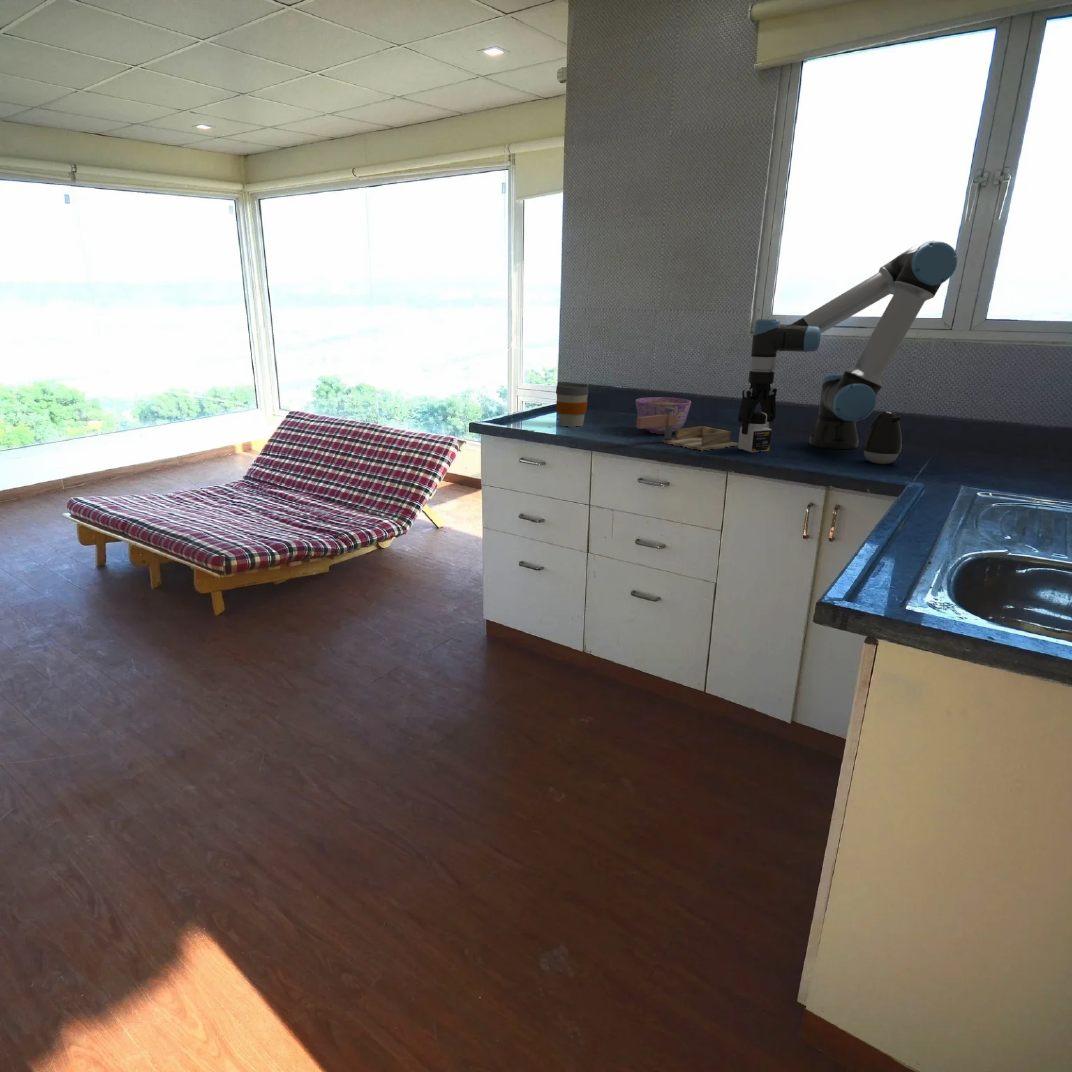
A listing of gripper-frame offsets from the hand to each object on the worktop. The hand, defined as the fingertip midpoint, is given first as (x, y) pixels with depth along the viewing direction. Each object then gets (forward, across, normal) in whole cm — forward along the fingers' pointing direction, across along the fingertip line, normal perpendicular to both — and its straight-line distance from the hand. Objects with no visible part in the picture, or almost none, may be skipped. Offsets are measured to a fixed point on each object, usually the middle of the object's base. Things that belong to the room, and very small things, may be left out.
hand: (754, 442), depth 223 cm
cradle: (+2, +7, -16) cm, 18 cm away
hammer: (+1, +21, -24) cm, 32 cm away
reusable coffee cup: (+3, +22, -70) cm, 73 cm away
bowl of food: (+3, +3, -40) cm, 40 cm away
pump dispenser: (+2, -17, +33) cm, 37 cm away
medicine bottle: (+2, 0, 0) cm, 2 cm away
